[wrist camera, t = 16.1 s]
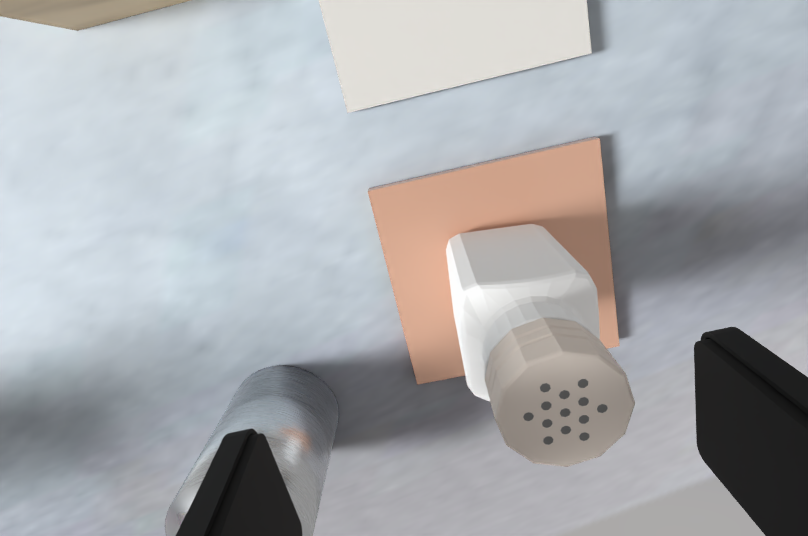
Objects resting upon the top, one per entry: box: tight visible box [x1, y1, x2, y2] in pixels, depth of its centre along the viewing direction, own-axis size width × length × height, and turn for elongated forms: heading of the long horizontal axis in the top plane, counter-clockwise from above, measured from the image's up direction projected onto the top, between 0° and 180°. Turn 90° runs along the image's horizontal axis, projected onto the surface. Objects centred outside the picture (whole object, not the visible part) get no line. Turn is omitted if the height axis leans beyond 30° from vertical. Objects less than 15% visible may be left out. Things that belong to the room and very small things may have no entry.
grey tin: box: [165, 366, 339, 536], centre depth 20 cm, size 5×5×7 cm
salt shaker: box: [446, 224, 635, 467], centre depth 16 cm, size 4×4×10 cm
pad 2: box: [368, 137, 619, 385], centre depth 21 cm, size 9×9×1 cm
